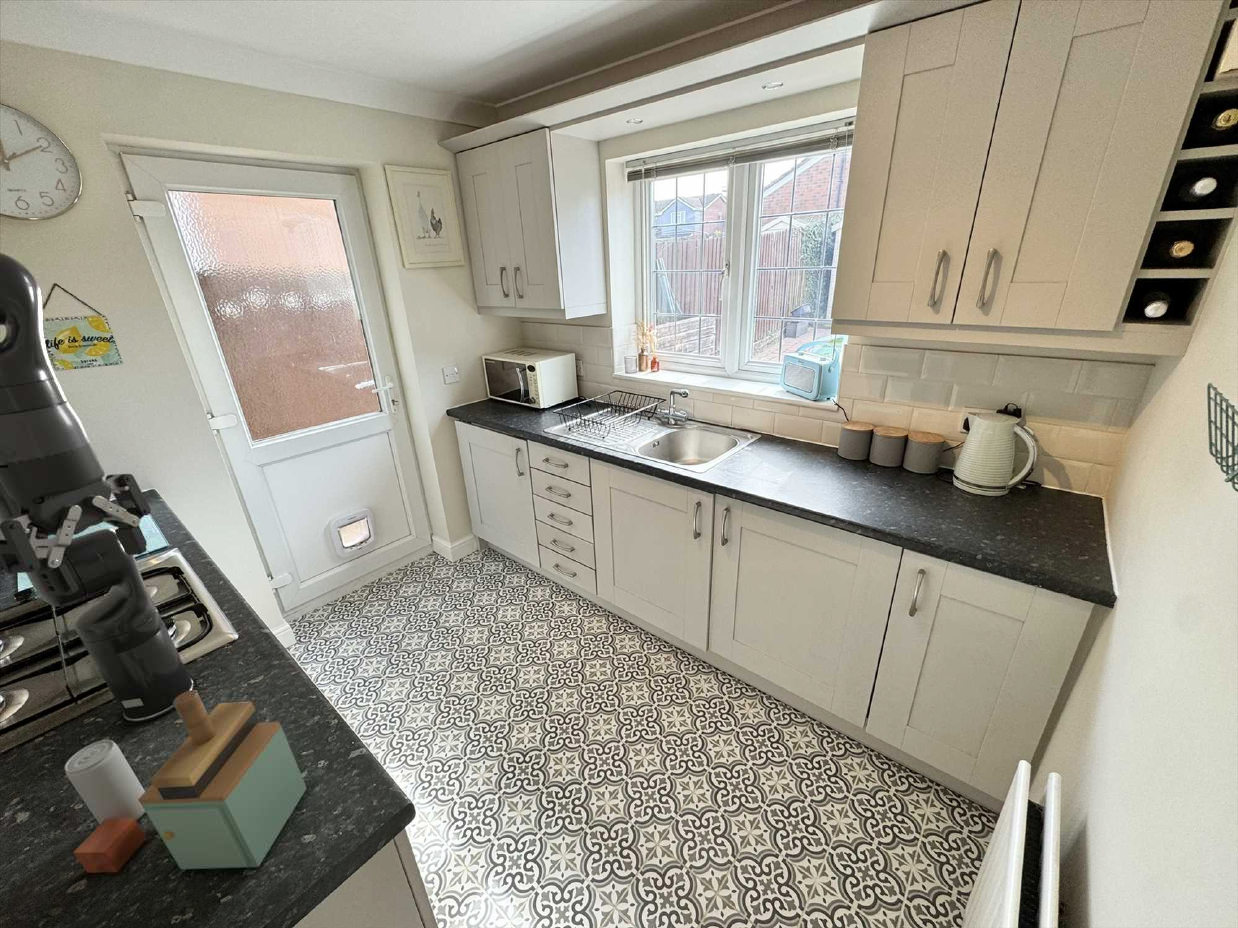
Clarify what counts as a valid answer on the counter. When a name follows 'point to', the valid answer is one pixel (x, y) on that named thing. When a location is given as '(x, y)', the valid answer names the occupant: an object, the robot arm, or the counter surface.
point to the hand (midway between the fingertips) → (104, 572)
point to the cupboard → (233, 806)
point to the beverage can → (106, 782)
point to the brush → (203, 745)
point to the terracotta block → (110, 845)
